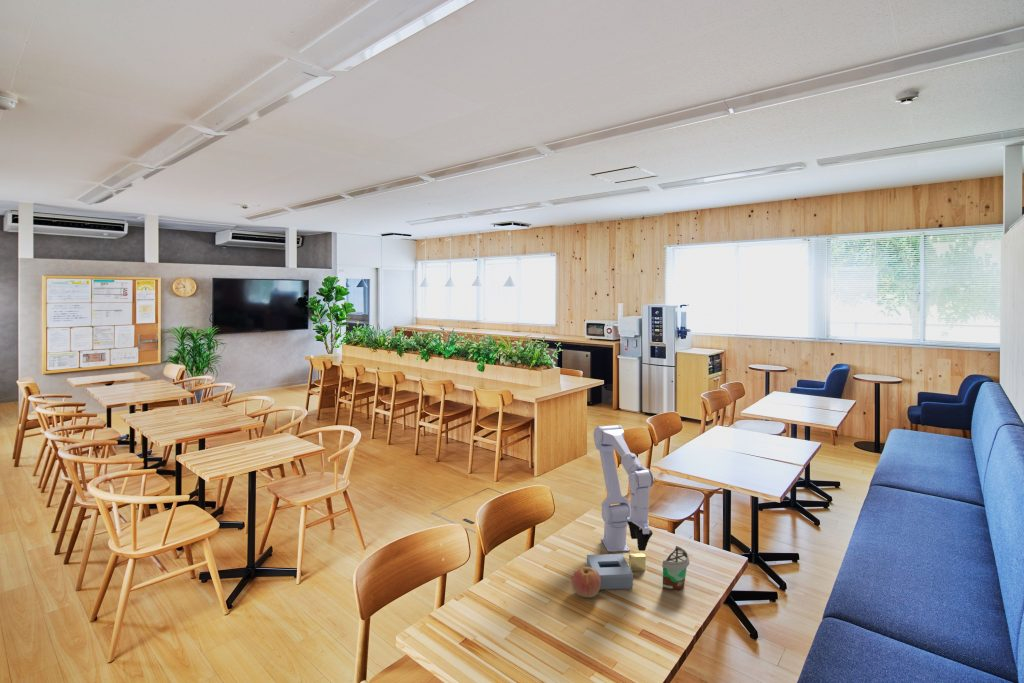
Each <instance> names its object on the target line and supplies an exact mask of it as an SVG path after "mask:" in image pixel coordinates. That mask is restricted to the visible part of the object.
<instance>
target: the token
mask: <svg viewBox="0 0 1024 683" xmlns="http://www.w3.org/2000/svg"><path fill="white" fill-rule="evenodd" d="M646 557H647V556H646V554H645V553H629V555H628V566H629V567H630V569H631V571H632V572H636V571H646V559H647V558H646Z"/></svg>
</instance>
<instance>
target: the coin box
mask: <svg viewBox="0 0 1024 683" xmlns="http://www.w3.org/2000/svg"><path fill="white" fill-rule="evenodd" d="M586 567H591V568H593V569H595V570H596V571H597V572H598V573H599V575H600V579H601V586H600V589H599V591H611V590H614V591H617V590H633V585H634V584H633V583H634V573H633V571H631V569H630V567H629V563H628V562H627V560H626V558H625V556H624V555H623V554H622V553H609V554H605V553H604V554H587V555H586Z"/></svg>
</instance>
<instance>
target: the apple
mask: <svg viewBox="0 0 1024 683" xmlns="http://www.w3.org/2000/svg"><path fill="white" fill-rule="evenodd" d="M571 586H572V590H573V591H574V592H575V594H577V595H578V596H580V597H583V598H588V599H589V598H594V597H596V596H597V595H598V593H599V591H600V590H599V589H600V586H601V579H600V575H599V573H598V572H597V571H596V570H595V569H593V568H591V567H587V566H580V567H579V568H577V569H576V570H575V571H574V572H573V574H572V576H571Z"/></svg>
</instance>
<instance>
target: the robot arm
mask: <svg viewBox="0 0 1024 683" xmlns="http://www.w3.org/2000/svg"><path fill="white" fill-rule="evenodd" d="M593 440H594V444H595V446H594V447H595V449H596V450H597V451H599V455H600V462H601V467H602V473H603V479H604V484H605V490H606V495H607V496H606V497H605V498H604V500H602V502H601V518H602V520H603V522H604V526H603V527H604V528H603V529H604V530H603V537H601V538H600V539H601V541H602V543H603V545H604V548H605V549H606V551H607V552H608V553H611V552H614V553H615V552H616V553H617V552H630V548H629V546H628V544H627V526H628V528H629V533H630V534H629V535H630V538H631V539H632V540H636V542H637V549H638V551H639V552H641V551H643V552H644V551H646V549H647V545H648V543H649V540H650V539H651V537H652V536H653V533H654V532H653V530H651V529H650V527H649V504H650V502H649V501H650V488H651V487H652V486H653V485H654V475H653V473H652V470H650V468H647V467H646V466H644V465H643V464H642V463H641V461H640V458H638V456H637V454H636V453H634V452H631V451H630V449H629V448H630V447H628V444H627V442H626V441H625V440H626V439H625V431H624V429H623V426H622V425H621V424H614V425H612V424H611V425H601V426H599V425H596V426H595V428H594V430H593ZM615 451H616V452H617V453H618V455H619V456H620V458H621V460H620V463H621V466H622V467H623V469H624V470H625V472H626V474H627V475H628V480H627V481H628V483H629V491H630V492H631V494H630V495H631V496H630V502H629V499H628V498H626V497H625V496H624V495H622V491H621V487H620V486H621V485H620V481H619V476H618V471H617V465H616V461H615V460H616V459H615V455H614V452H615Z"/></svg>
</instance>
